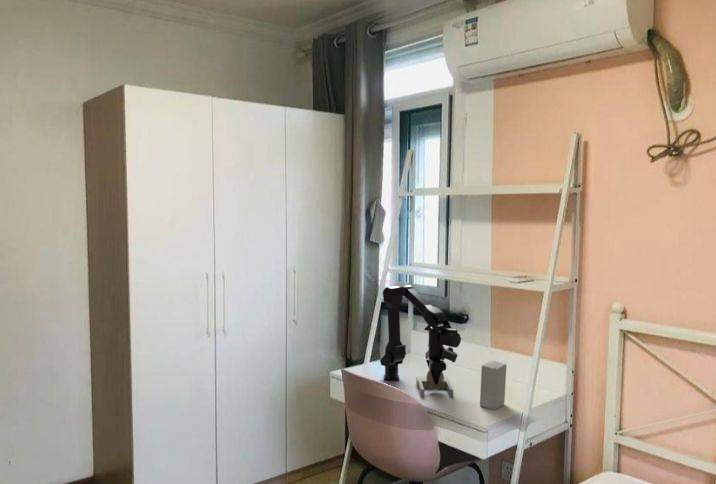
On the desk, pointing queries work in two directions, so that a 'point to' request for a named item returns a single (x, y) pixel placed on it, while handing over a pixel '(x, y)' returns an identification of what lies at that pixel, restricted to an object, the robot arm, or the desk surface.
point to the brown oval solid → (431, 381)
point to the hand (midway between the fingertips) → (435, 381)
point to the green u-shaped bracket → (422, 384)
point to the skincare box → (493, 385)
